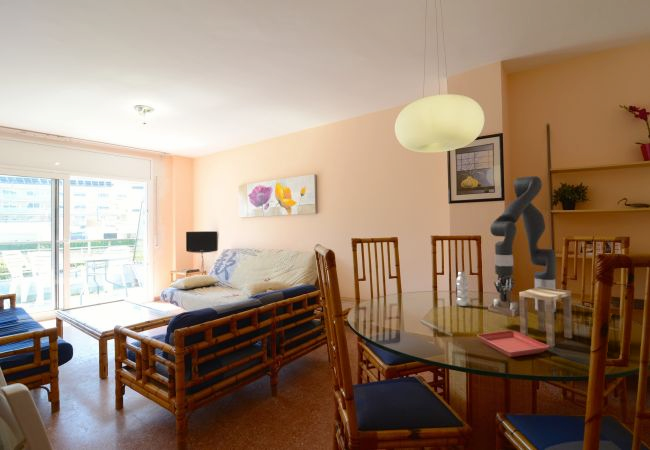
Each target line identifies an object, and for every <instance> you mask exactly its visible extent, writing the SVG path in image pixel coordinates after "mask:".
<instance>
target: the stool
mask: <svg viewBox="0 0 650 450" xmlns="http://www.w3.org/2000/svg"><path fill="white" fill-rule="evenodd" d="M518 293H519V295H518V296H519V299H518V300H519V307H520V316H519V333H520V334H523V335H525V336H527V337H529V331H528V330H529V328H528V326H529V325H528V298H530V299H534V300H535V299H538V310H537V324H538V325H537V327H538V330H539V331H538V332H542V333H544V332H546V333H545V334H546V336H545V337H546V345H548V346H549V347H551V348H554V347H556V341H555V339H556V338H555V334H556V333H555V312H554V300H556V301H557V300H559V299H562V298H563V299H562V301H563V302H562V303H563V305H562V306H563V337H564V338H566V339H572V338H573V329H572V327H573V325H572V324H573V323H572V321H573V320H572V291H571V290H566V289H559V288H558V289H557V288H555V289H552V288H545V287H537V288H535V287H533V288H529V289H527V290H523V291H519V292H518ZM545 300H546V312H545Z"/></svg>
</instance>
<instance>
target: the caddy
mask: <svg viewBox="0 0 650 450" xmlns="http://www.w3.org/2000/svg"><path fill="white" fill-rule="evenodd" d="M499 290H500V289H499ZM503 290H504V289H503ZM498 293H499V292H498ZM498 295H499V296H498V297H499V298H493V303H492V304H488V305H487V311H488V312H489V313H494V314H498V315H501V316H506V317H511V318H517V317H520V306H518V302H516V301H512V291H511V290H508V289H506V302H502V301H501V293H499V294H498Z"/></svg>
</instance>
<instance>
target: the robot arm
mask: <svg viewBox="0 0 650 450" xmlns="http://www.w3.org/2000/svg"><path fill="white" fill-rule="evenodd" d="M542 184H543V183H542V180H541V178H540V177H539V176H534V175H533V176H523V177H518V178H517V177H516V178H515V180H514V182H513V190H514V194H515V196H516V198H515V199H514V200H512V201H511V202H510V203H509V204H508V205H507V206H506V208H505V209H504V211H503V213H502V214H500V215H499V216H498V217H496V219H494V221H493V222H492V223H491V225H490V233H491V235H492V236H494V237H504V239H503V240H502V241H497V242H495V244H494V249H495V251H494V252H495V256H494V273H495V275H497V281H494V282H493V283H494V284H493V285H494V286H495V290H496V292H497V293H501V301H502V302H506V289H508V290H511V292H512V291H513V289H514V285H515V282H516V281H515V278H512V276H513V275H514V269H515V268H514V266H515V265H514V256H513V255H514V253H513V246H514V245H513V244H514V242H515V241H514V240H515V237H516V234H517V225H516V223H517V222H518V221H519V219H520V217H521V216H522V217H521V218H522V221H523V226H524V230H525V233H526V238H527V242H528V248H529V249H528V251H529V257H530V261H531V264H532V265H534V266H541V267H545V269H543V270H541V271H536V272H535V273H534V276H533V277H534V288H537V287H545V288H552V289H556V260H557V259H556V257H557V255H556V252H555V250H554V249H551V248H539V247H538V245H539V244H538V242H539V240H540V239H541V237H542V236H543V234H544V232H545V230H546V222H545V218H544V215H543V213H542V212H541V211H540V210H539V209H538V208H537V207H536V206H535V205H534V204H533V203H532V202H533V200H534V199H535V198H537V196H538V195H539V194H540V193H541V191H542V186H543V185H542ZM499 289H500V290H499ZM503 289H504V290H503ZM556 304H557V300H554V313H555V312H557V305H556ZM534 309H535V311H538V299H535V298H534ZM545 313H546V300H545Z"/></svg>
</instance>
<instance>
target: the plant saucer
mask: <svg viewBox="0 0 650 450" xmlns="http://www.w3.org/2000/svg"><path fill="white" fill-rule="evenodd" d="M476 336H477V337H478V339H479V340H480V341H481V342H482V344H485V345H487V346H489V347H490V348H492V349H493V350H495V351H498V352H499V353H501V354H503V355H505V356H507V357H509V358H514V357H520V356H526V355H535V354H541V353H544V352H545V351H546V350H548V349H549V348H550V346H548V345H547V343H546V344H545V343H543V342H542V341H538V340H536V339H535V338H532V337H530V336H528V337H527V336H525V335H523V334H520V332H518V331H515V330H505V331H504V330H503V331H497V332H496V331H495V332H487V333H478V334H477V335H476Z"/></svg>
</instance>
